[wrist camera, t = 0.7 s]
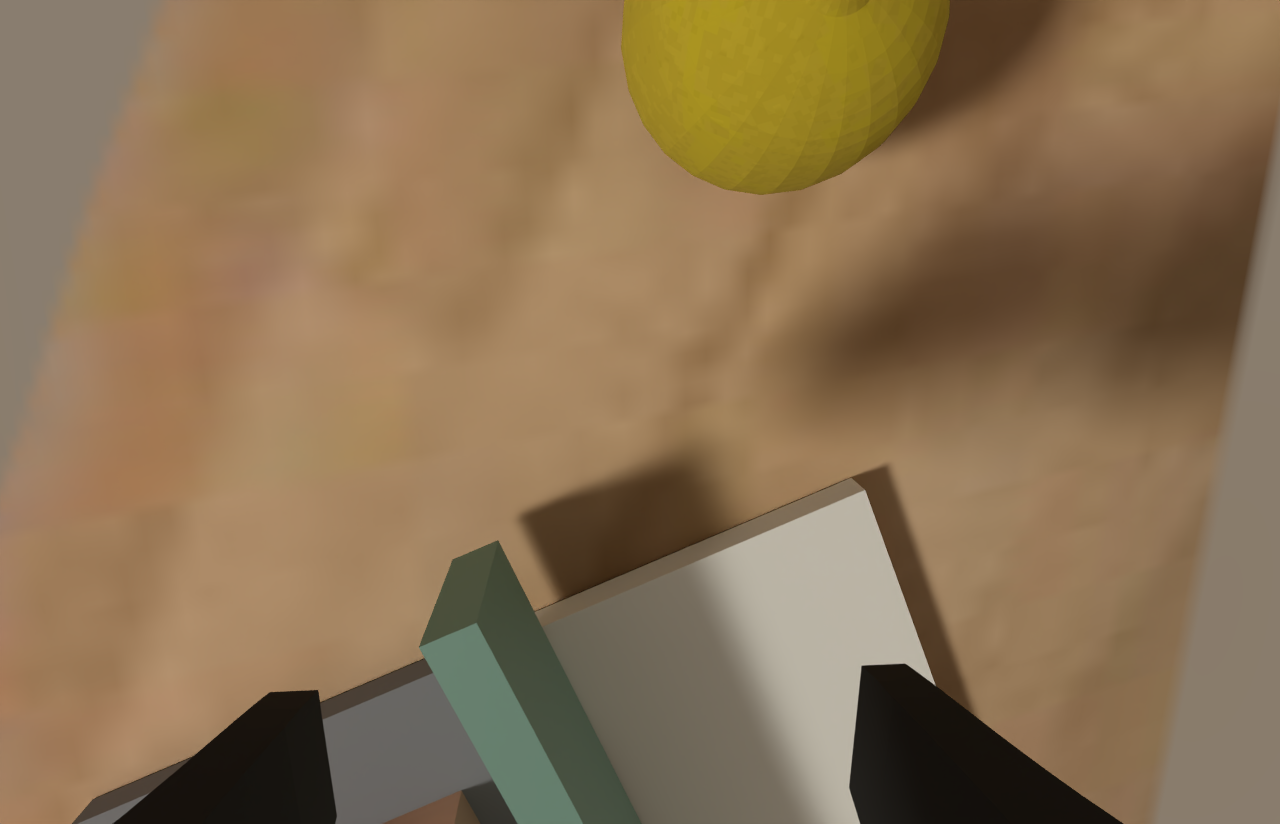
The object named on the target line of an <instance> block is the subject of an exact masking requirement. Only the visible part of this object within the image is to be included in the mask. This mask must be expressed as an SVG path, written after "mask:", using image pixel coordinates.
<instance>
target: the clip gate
mask: <svg viewBox="0 0 1280 824" xmlns="http://www.w3.org/2000/svg"><path fill="white" fill-rule="evenodd" d="M419 648H420V650H421V652H422V654H423V655H424V657H425V659H426V661H427V663H428V664H429V666H430V668H431V670H432V672H433V673H434V675H435V677H436V679H437V680H438V682H439V684H440V686H441V688H442V689H443V691H444V693H445V695H446V697H447V698H448V700H449V702H450V704H451V706H452V707H453V709H454V711H455V713H456V714H457V716H458V718H459V720H460V722H461V723H462V725H463V727H464V729H465V731H466V732H467V734H468V736H469V738H470V739H471V741H472V743H473V745H474V747H475V748H476V750H477V752H478V754H479V756H480V757H481V759H482V761H483V763H484V764H485V766H486V768H487V770H488V772H489V773H490V775H491V777H492V779H493V781H494V782H495V784H496V786H497V788H498V790H499V791H500V793H501V795H502V797H503V798H504V800H505V802H506V804H507V806H508V807H509V809H510V811H511V813H512V815H513V816H514V818H515V820H516V822H517V823H518V824H642V823H641V821H640V819H639V817H638V815H637V813H636V812H635V810H634V808H633V806H632V804H631V802H630V800H629V798H628V796H627V794H626V792H625V790H624V788H623V786H622V784H621V782H620V780H619V778H618V776H617V774H616V772H615V770H614V768H613V766H612V764H611V762H610V760H609V758H608V756H607V754H606V752H605V750H604V748H603V746H602V744H601V742H600V740H599V738H598V737H597V735H596V733H595V731H594V729H593V727H592V725H591V723H590V721H589V719H588V717H587V715H586V713H585V711H584V709H583V707H582V705H581V703H580V701H579V699H578V697H577V695H576V693H575V691H574V689H573V687H572V685H571V683H570V681H569V679H568V677H567V675H566V673H565V671H564V669H563V667H562V665H561V664H560V662H559V660H558V658H557V656H556V654H555V652H554V650H553V648H552V646H551V644H550V642H549V640H548V638H547V636H546V634H545V632H544V630H543V628H542V626H541V624H540V622H539V620H538V618H537V616H536V614H535V612H534V610H533V608H532V606H531V604H530V602H529V600H528V598H527V596H526V594H525V592H524V591H523V589H522V587H521V585H520V583H519V581H518V579H517V577H516V575H515V573H514V571H513V569H512V567H511V565H510V563H509V561H508V559H507V557H506V555H505V553H504V551H503V549H502V547H501V545H500V543H499V541H495V542H493V543H491V544H488V545H486V546H484V547H481V548H479V549H477V550H474V551H472V552H470V553H467V554H465V555H463V556H460V557H458V558H455V559H453V560H452V563H451V566H450V568H449V571H448V573H447V576H446V579H445V581H444V584H443V586H442V589H441V592H440V594H439V597H438V599H437V602H436V604H435V607H434V610H433V612H432V615H431V617H430V620H429V623H428V625H427V628H426V630H425V633H424V635H423V638H422V641H421V643H420V646H419Z"/></svg>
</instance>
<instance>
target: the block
mask: <svg viewBox="0 0 1280 824" xmlns="http://www.w3.org/2000/svg"><path fill="white" fill-rule="evenodd" d="M382 824H480V822H479V820H478V818H477V817H476V815H475V813H474V811H473V810H472V808H471V806H470V804H469V803H468V801H467V799H466V797H465V796H464V794H463V792H462V791H458V792H456V793H454V794H451V795H449V796H446V797H444V798H442V799H439V800H437V801H435V802H432V803H430V804H427V805H425V806H423V807H420V808H418V809H416V810H413V811H411V812H408V813H406V814H404V815H401V816H399V817H397V818H394V819H392V820H389V821H387V822H385V823H382Z"/></svg>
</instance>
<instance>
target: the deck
mask: <svg viewBox="0 0 1280 824" xmlns="http://www.w3.org/2000/svg"><path fill="white" fill-rule="evenodd" d="M535 614H536V616H537V618H538V620H539V622H540V624H541V626H542V628H543V630H544V632H545V634H546V636H547V638H548V640H549V642H550V644H551V646H552V648H553V650H554V652H555V654H556V656H557V658H558V660H559V662H560V664H561V665H562V667H563V669H564V671H565V673H566V675H567V677H568V679H569V681H570V683H571V685H572V687H573V689H574V691H575V693H576V695H577V697H578V699H579V701H580V703H581V705H582V707H583V709H584V711H585V713H586V715H587V717H588V719H589V721H590V723H591V725H592V727H593V729H594V731H595V733H596V735H597V737H598V738H599V740H600V742H601V744H602V746H603V748H604V750H605V752H606V754H607V756H608V758H609V760H610V762H611V764H612V766H613V768H614V770H615V772H616V774H617V776H618V778H619V780H620V782H621V784H622V786H623V788H624V790H625V792H626V794H627V796H628V798H629V800H630V802H631V804H632V806H633V808H634V810H635V812H636V813H637V815H638V817H639V819H640V821H641V823H642V824H860V822H859V819H858V815H857V812H856V809H855V805H854V802H853V799H852V796H851V792H850V789H849V782H850V773H851V763H852V753H853V744H854V734H855V724H856V714H857V705H858V695H859V685H860V675H861V666H862V665H884V664H907V665H908V666H909V667H911V668H912V669H914V670H915V671H917V672H918V673H919V674H921V675H922V676H923V677H925V678H926V679H927V680H929V681H930V682H931V683H933V684H934V685H935V682H934V679H933V677H932V674H931V671H930V668H929V666H928V663H927V660H926V657H925V655H924V652H923V649H922V646H921V643H920V641H919V638H918V635H917V632H916V630H915V627H914V624H913V621H912V619H911V616H910V613H909V610H908V607H907V605H906V602H905V599H904V596H903V594H902V591H901V588H900V585H899V582H898V580H897V577H896V574H895V571H894V569H893V566H892V563H891V560H890V558H889V555H888V552H887V549H886V546H885V544H884V541H883V538H882V535H881V533H880V530H879V527H878V524H877V522H876V519H875V516H874V513H873V510H872V508H871V505H870V502H869V499H868V497H867V494H866V491H865V489H863V488H862V487H861V486H860V485H859V484H858V483H857V482H856V481H854V480H853V479H852V478H849V479H847V480H845V481H842V482H840V483H838V484H835V485H833V486H831V487H828V488H826V489H824V490H821V491H819V492H816V493H814V494H812V495H809V496H807V497H805V498H802V499H800V500H798V501H795V502H793V503H791V504H788V505H786V506H783V507H781V508H779V509H776V510H774V511H772V512H769V513H767V514H765V515H762V516H760V517H758V518H755V519H753V520H750V521H748V522H746V523H743V524H741V525H739V526H736V527H734V528H732V529H729V530H727V531H725V532H722V533H720V534H717V535H715V536H713V537H710V538H708V539H706V540H703V541H701V542H699V543H696V544H694V545H692V546H689V547H687V548H684V549H682V550H680V551H677V552H675V553H673V554H670V555H668V556H666V557H663V558H661V559H659V560H656V561H654V562H651V563H649V564H647V565H644V566H642V567H640V568H637V569H635V570H633V571H630V572H628V573H626V574H623V575H621V576H618V577H616V578H614V579H611V580H609V581H607V582H604V583H602V584H600V585H597V586H595V587H592V588H590V589H588V590H585V591H583V592H581V593H578V594H576V595H574V596H571V597H569V598H567V599H564V600H562V601H559V602H557V603H555V604H552V605H550V606H548V607H545V608H543V609H541V610H538V611H536V612H535ZM935 686H936V685H935ZM320 706H321V713H322V720H323V726H324V733H325V739H326V746H327V753H328V759H329V766H330V773H331V779H332V786H333V793H334V799H335V806H336V812H337V819H336V823H335V824H382V823H385V822H387V821H389V820H392V819H394V818H397V817H399V816H401V815H404V814H406V813H408V812H411V811H413V810H416V809H418V808H420V807H423V806H425V805H427V804H430V803H432V802H435V801H437V800H439V799H442V798H444V797H446V796H449V795H451V794H454V793H456V792H458V791H462V792H463V794H464V796H465V797H466V799H467V801H468V803H469V804H470V806H471V808H472V810H473V811H474V813H475V815H476V817H477V818H478V820H479V822H480V824H518V823H517V822H516V820H515V818H514V816H513V815H512V813H511V811H510V809H509V807H508V806H507V804H506V802H505V800H504V798H503V797H502V795H501V793H500V791H499V790H498V788H497V786H496V784H495V782H494V781H493V779H492V777H491V775H490V773H489V772H488V770H487V768H486V766H485V764H484V763H483V761H482V759H481V757H480V756H479V754H478V752H477V750H476V748H475V747H474V745H473V743H472V741H471V739H470V738H469V736H468V734H467V732H466V731H465V729H464V727H463V725H462V723H461V722H460V720H459V718H458V716H457V714H456V713H455V711H454V709H453V707H452V706H451V704H450V702H449V700H448V698H447V697H446V695H445V693H444V691H443V689H442V688H441V686H440V684H439V682H438V680H437V679H436V677H435V675H434V673H433V672H432V670H431V668H430V666H429V664H428V663H427V661H426V659H423V660H420V661H418V662H416V663H413V664H411V665H409V666H406V667H404V668H402V669H399V670H397V671H394V672H392V673H390V674H387V675H385V676H383V677H380V678H378V679H376V680H373V681H371V682H369V683H366V684H364V685H361V686H359V687H357V688H354V689H352V690H350V691H347V692H345V693H343V694H340V695H338V696H336V697H333V698H331V699H328V700H326V701H324V702H321V703H320ZM190 759H191V758H189V759H187V760H185V761H182V762H180V763H178V764H175V765H173V766H170V767H168V768H166V769H163V770H161V771H159V772H156V773H154V774H152V775H149V776H147V777H145V778H142V779H140V780H137V781H135V782H133V783H130V784H128V785H126V786H123V787H121V788H119V789H116V790H114V791H112V792H109V793H107V794H104V795H102V796H100V797H97V798H95V799H93V800H92V801H91V802H90V803H89V804H88V806H87V807H86V808H85V809H84V810H83V811H82V813H81V814H80V815H79V816H78V817H77V818H76V820H75V821H74V822H73V823H72V824H113V823H114V822H115V821H116V820H118V819H119V818H120V817H122V816H123V815H124V814H125V813H126V812H128V811H129V810H130V809H131V808H133V807H134V806H135V805H136V804H137V803H138V802H140V801H141V800H142V799H143V798H144V797H146V796H147V795H148V794H149V793H150V792H152V791H153V790H154V789H155V788H156V787H158V786H159V785H160V784H161V783H162V782H164V781H165V780H166V779H167V778H168V777H170V776H171V775H172V774H173V773H174V772H176V771H177V770H178V769H179V768H180V767H181V766H183V765H184V764H185V763H186V762H187V761H189V760H190Z"/></svg>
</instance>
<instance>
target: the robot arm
mask: <svg viewBox="0 0 1280 824" xmlns="http://www.w3.org/2000/svg"><path fill="white" fill-rule="evenodd" d="M849 789H850V792H851V796H852V799H853V802H854V805H855V809H856V812H857V815H858V819H859V822H860V824H1123V823H1122V822H1120V821H1119V820H1117V819H1116V818H1114V817H1113V816H1111V815H1110V814H1108V813H1107V812H1105V811H1104V810H1103V809H1101V808H1100V807H1098V806H1097V805H1095V804H1094V803H1092V802H1091V801H1089V800H1088V799H1086V798H1085V797H1083V796H1082V795H1080V794H1079V793H1078V792H1076V791H1075V790H1073V789H1072V788H1071V787H1069V786H1068V785H1066V784H1065V783H1064V782H1062V781H1061V780H1059V779H1058V778H1057V777H1055V776H1054V775H1052V774H1051V773H1050V772H1048V771H1047V770H1046V769H1044V768H1043V767H1041V766H1040V765H1039V764H1037V763H1036V762H1035V761H1033V760H1032V759H1031V758H1029V757H1028V756H1027V755H1025V754H1024V753H1023V752H1021V751H1020V750H1019V749H1017V748H1016V747H1014V746H1013V745H1012V744H1010V743H1009V742H1008V741H1007V740H1005V739H1004V738H1003V737H1001V736H1000V735H999V734H997V733H996V732H995V731H993V730H992V729H991V728H989V727H988V726H987V725H986V724H984V723H983V722H982V721H980V720H979V719H978V718H977V717H975V716H974V715H973V714H971V713H970V712H969V711H968V710H966V709H965V708H964V707H962V706H961V705H960V704H958V703H957V702H956V701H955V700H953V699H952V698H951V697H949V696H948V695H947V694H946V693H944V692H943V691H942V690H940V689H939V688H938V687H937V686H935V685H934V684H933V683H931V682H930V681H929V680H927V679H926V678H925V677H923V676H922V675H921V674H919V673H918V672H917V671H915V670H914V669H912V668H911V667H909V666H908V665H907V664H884V665H862V666H861V675H860V685H859V695H858V705H857V714H856V724H855V734H854V744H853V753H852V763H851V773H850V782H849ZM336 819H337V812H336V806H335V799H334V793H333V786H332V779H331V773H330V766H329V759H328V753H327V746H326V739H325V733H324V726H323V720H322V713H321V706H320V700H319V693H318V690H310V691H288V692H270V693H268V694H267V695H266V696H265V697H263V698H262V699H261V700H259V701H258V702H257V703H256V704H254V705H253V706H252V707H251V708H250V709H248V710H247V711H246V712H245V713H244V714H242V715H241V716H240V717H239V718H238V719H237V720H235V721H234V722H233V723H232V724H231V725H230V726H228V727H227V728H226V729H225V730H224V731H222V732H221V733H220V734H219V735H218V736H217V737H215V738H214V739H213V740H212V741H211V742H210V743H208V744H207V745H206V746H205V747H204V748H203V749H201V750H200V751H199V752H198V753H197V754H196V755H194V756H193V757H192V758H191V759H190V760H189V761H187V762H186V763H185V764H184V765H183V766H181V767H180V768H179V769H178V770H177V771H176V772H174V773H173V774H172V775H171V776H170V777H168V778H167V779H166V780H165V781H164V782H162V783H161V784H160V785H159V786H158V787H156V788H155V789H154V790H153V791H152V792H150V793H149V794H148V795H147V796H146V797H144V798H143V799H142V800H141V801H140V802H138V803H137V804H136V805H135V806H134V807H133V808H131V809H130V810H129V811H128V812H126V813H125V814H124V815H123V816H122V817H120V818H119V819H118V820H116V821H115V822H114V823H113V824H335V823H336Z"/></svg>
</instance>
